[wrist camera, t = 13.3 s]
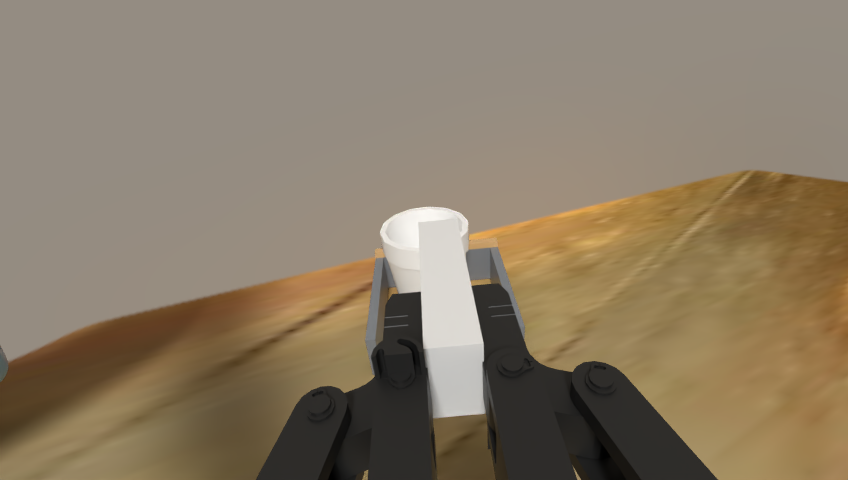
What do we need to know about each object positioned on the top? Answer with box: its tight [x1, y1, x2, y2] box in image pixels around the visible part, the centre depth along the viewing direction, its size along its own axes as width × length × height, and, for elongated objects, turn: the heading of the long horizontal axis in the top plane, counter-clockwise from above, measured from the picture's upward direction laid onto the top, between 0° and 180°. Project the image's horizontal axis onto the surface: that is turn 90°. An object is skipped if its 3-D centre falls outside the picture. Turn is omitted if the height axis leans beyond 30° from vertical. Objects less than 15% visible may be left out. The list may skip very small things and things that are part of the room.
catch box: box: [365, 238, 525, 375], centre depth 50 cm, size 16×16×6 cm
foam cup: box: [380, 207, 469, 294], centre depth 48 cm, size 10×9×13 cm
